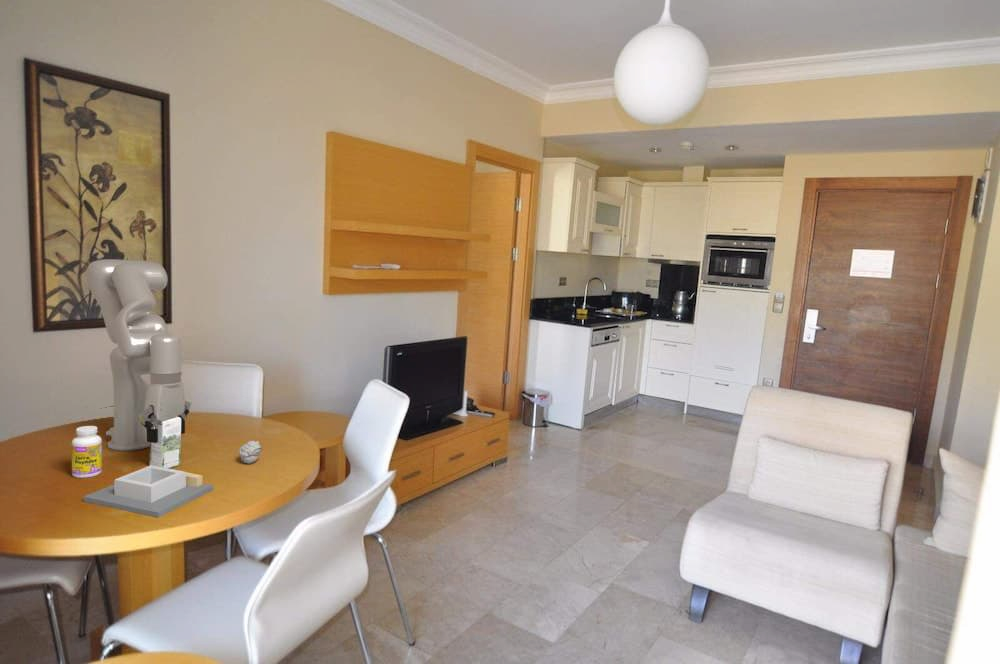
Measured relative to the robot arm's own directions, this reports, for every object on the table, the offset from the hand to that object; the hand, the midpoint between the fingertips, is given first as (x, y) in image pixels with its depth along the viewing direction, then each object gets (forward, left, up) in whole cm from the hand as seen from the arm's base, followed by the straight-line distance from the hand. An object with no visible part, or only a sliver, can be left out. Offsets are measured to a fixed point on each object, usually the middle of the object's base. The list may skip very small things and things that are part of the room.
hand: (166, 437), depth 167 cm
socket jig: (+11, -17, -9) cm, 22 cm away
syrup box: (-1, 0, -9) cm, 9 cm away
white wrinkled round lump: (+18, +12, -9) cm, 24 cm away
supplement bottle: (-14, -13, -9) cm, 21 cm away
